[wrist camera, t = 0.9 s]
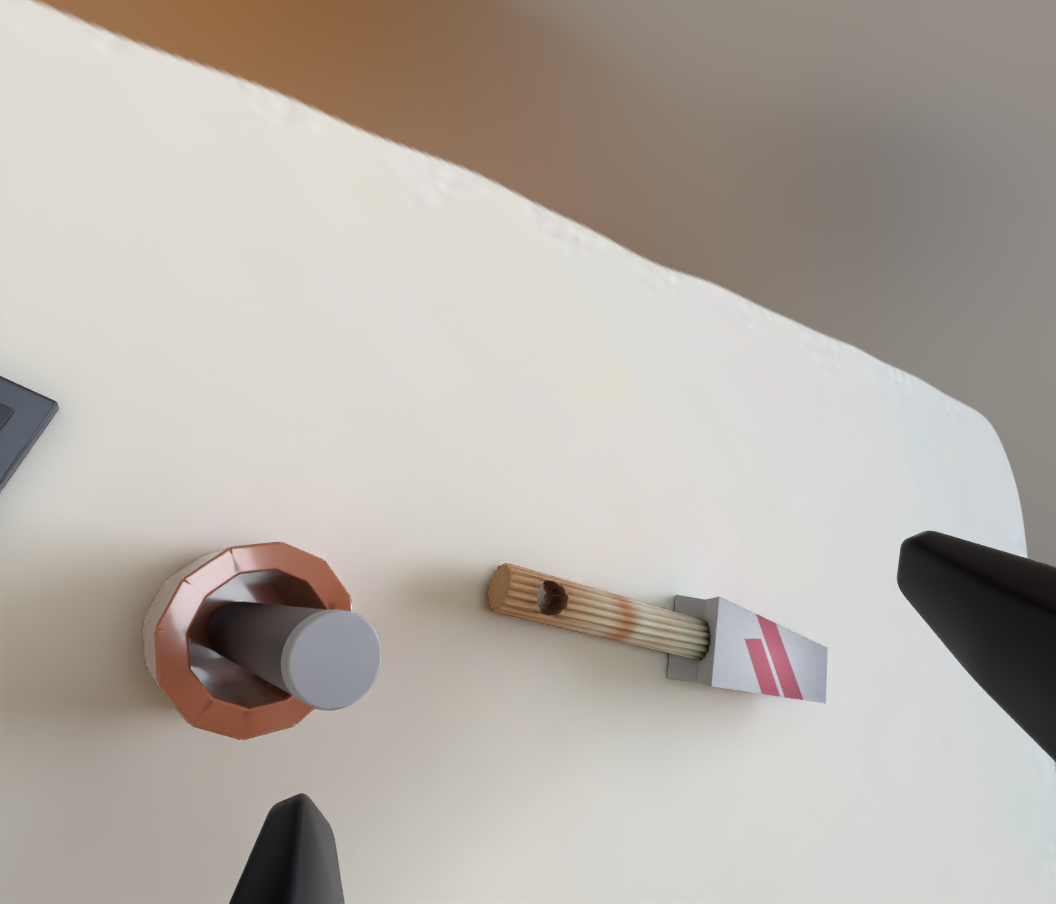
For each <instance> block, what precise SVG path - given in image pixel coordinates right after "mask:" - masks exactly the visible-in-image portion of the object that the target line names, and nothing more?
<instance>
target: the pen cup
mask: <svg viewBox="0 0 1056 904" xmlns="http://www.w3.org/2000/svg"><path fill="white" fill-rule="evenodd" d="M239 601H244V602H254V603H264V604H274V605H284V606H293V607H303V608H313V609H323V610H345V611H350V612H352V602H351V598H350V595H349V593H348V592H347V590H346V589H345V588H344V586H343V585H342V583H341V582H340V581H339V579H338V578H337V576H336V575H335V574H334V572H333V571H332V569H331V568H330V567H329V565H328V564H327V562H326V561H324V560H323V559H321V558H319V557H316V556H314V555H312V554H309V553H307V552H305V551H302V550H300V549H298V548H295V547H293V546H291V545H288V544H286V543H284V542H281V543H280V542H271V543H261V544H252V545H243V546H233V547H229V548H226V549H223V550H219V551H216V552H213V553H209V554H206V555H203V556H202V557H200V558H199V559H197V560H195V561H194V562H192V563H190V564H189V565H187V566H185V567H184V568H182V569H181V570H179V571H178V572H177V573H175V574H174V575H172V576H171V577H169V578H168V579H167V581H165V582H164V584H163V586H162V588H161V589H160V590H159V592H158V593H157V595H156V596H155V598H154V599H153V601H152V603H151V606H150V608H149V610H148V613H147V615H146V616H145V618H144V623H143V646H144V653H145V663H146V666H147V669H148V670H149V672H150V673H151V675H152V677H153V678H154V680H155V682H156V683H157V685H158V687H159V688H160V689H161V691H162V692H163V693H164V694H165V696H166V697H167V698H168V699H169V700H170V702H171V703H172V704H173V705H174V707H175V708H176V709H177V710H178V712H179V713H180V714H181V715H182V717H183V718H184V719H185V720H186V722H187V723H188V724H191V726H193V727H196V728H199V729H203V730H206V731H210V732H213V733H217V734H220V735H224V736H228V737H231V738H235V739H238V740H241V739H242V740H246V739H250V738H253V737H257V736H261V735H265V734H268V733H272V732H276V731H280V730H283V729H287V728H291V727H294V726H295V725H296V724H298V723H299V722H300V721H301V720H303V719H304V718H305V717H306V716H307V715H308V714H309V713H310V712H312V711H313V710H314V709H315V708H313V707H310V706H308V705H306V704H305V703H303V702H301V701H300V700H298V699H297V698H296V697H294V696H293V695H291V694H289V693H288V692H286V691H284V690H282V689H280V688H279V687H277V686H275V685H273V684H271V683H270V682H268V681H266V680H264V679H262V678H261V677H259V676H257V675H255V674H254V673H252V672H250V671H248V670H246V669H245V668H243V667H241V666H239V665H237V664H236V663H234V662H232V661H230V660H228V659H227V658H225V657H223V656H221V655H220V654H218V653H217V652H215V651H214V649H213V648H212V647H211V645H210V643H209V640H208V626H209V623H210V621H211V619H212V617H213V616H214V614H215V613H216V612H217V611H218V610H219V609H221V608H222V607H223V606H225V605H227V604H230V603H233V602H239Z"/></svg>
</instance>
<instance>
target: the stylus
mask: <svg viewBox="0 0 1056 904" xmlns="http://www.w3.org/2000/svg"><path fill="white" fill-rule="evenodd" d="M208 640H209V643H210V645H211V647H212V648H213V649H214V651H215V652H217V653H218V654H220V655H221V656H223V657H225V658H227V659H228V660H230V661H232V662H234V663H236V664H237V665H239V666H241V667H243V668H245V669H246V670H248V671H250V672H252V673H254V674H255V675H257V676H259V677H261V678H262V679H264V680H266V681H268V682H270V683H271V684H273V685H275V686H277V687H279V688H280V689H282V690H284V691H286V692H288V693H289V694H291V695H293V696H294V697H296V698H297V699H298V700H300V701H301V702H303V703H305V704H306V705H308V706H310V707H313V708H315V709H319V710H337V709H341V708H344V707H347V706H349V705H351V704H353V703H355V702H356V701H358V700H359V699H360V698H361V697H363V696H364V695H365V694H366V693H367V691H368V690H369V689H370V688H371V686H372V685H373V683H374V681H375V680H376V677H377V675H378V672H379V669H380V665H381V658H382V649H381V643H380V640H379V637H378V635H377V632H376V631H375V629H374V627H373V626H372V625H371V624H370V623H369V622H368V621H367V620H366V619H365V618H363V617H362V616H360V615H358V614H356V613H353V612H350V611H345V610H323V609H313V608H303V607H293V606H284V605H274V604H264V603H254V602H244V601H239V602H233V603H230V604H227V605H225V606H223V607H222V608H221V609H219V610H218V611H217V612H216V613H215V614H214V616H213V617H212V619H211V621H210V623H209V626H208Z"/></svg>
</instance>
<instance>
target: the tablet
mask: <svg viewBox="0 0 1056 904" xmlns="http://www.w3.org/2000/svg"><path fill="white" fill-rule="evenodd" d="M57 411H58V403H57V402H56V401H54V400H52V399H50V398H48V397H45V396H43V395H41V394H39V393H37V392H34V391H32V390H30V389H28V388H26V387H23V386H21V385H19V384H17V383H15V382H12V381H10V380H8V379H6V378H4V377H1V376H0V492H1V490H2V489H3V487H4V486H5V485H6V483H7V482H8V480H9V479H10V477H11V476H12V475H13V473H14V472H15V470H16V469H17V468H18V466H19V465H20V463H21V462H22V460H23V459H24V458H25V456H26V455H27V453H28V452H29V450H30V449H31V448H32V446H33V445H34V443H35V442H36V440H37V439H38V438H39V436H40V435H41V433H42V432H43V431H44V429H45V428H46V426H47V425H48V423H49V422H50V421H51V419H52V418H53V416H54V415H55V413H56V412H57Z"/></svg>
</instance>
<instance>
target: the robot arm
mask: <svg viewBox="0 0 1056 904" xmlns="http://www.w3.org/2000/svg"><path fill="white" fill-rule="evenodd" d="M897 582H898V585H899V588H900V590H901V592H902V593H903V595H904V596H905V597H906V599H907V600H908V601H909V602H910V603H911V605H912V606H913V607H914V608H915V609H916V611H917V612H918V613H919V614H920V616H921V617H922V618H923V619H924V620H925V622H926V623H927V624H928V625H929V626H930V628H931V629H932V630H933V631H934V632H935V634H936V635H937V636H938V637H939V638H940V640H941V641H942V642H943V643H944V645H945V646H946V647H947V648H948V649H949V651H950V652H951V653H952V654H953V655H954V657H955V658H956V659H957V660H958V661H959V663H960V664H961V665H962V666H963V667H964V669H965V670H966V671H967V672H968V673H969V674H970V675H971V676H972V678H973V679H974V680H975V681H976V682H977V683H978V684H979V685H980V686H981V687H982V688H983V689H984V690H985V691H986V692H987V694H988V695H989V696H990V697H991V698H992V699H993V700H994V701H995V702H996V703H997V704H998V705H999V706H1000V707H1001V708H1002V709H1003V710H1004V711H1005V712H1006V713H1007V714H1008V715H1009V716H1010V717H1011V718H1012V719H1013V720H1014V721H1015V722H1016V723H1017V724H1018V725H1019V726H1020V727H1021V728H1022V729H1023V730H1024V731H1025V732H1026V733H1027V734H1028V735H1029V736H1030V737H1031V738H1032V739H1033V740H1034V741H1035V742H1036V743H1037V744H1038V745H1039V746H1040V747H1041V748H1042V749H1043V750H1044V751H1045V752H1046V753H1047V754H1048V755H1049V756H1050V757H1051V758H1052V759H1053V760H1054V761H1055V762H1056V567H1054V566H1051V565H1048V564H1044V563H1041V562H1037V561H1034V560H1031V559H1027V558H1024V557H1020V556H1017V555H1014V554H1010V553H1007V552H1004V551H1000V550H997V549H993V548H990V547H987V546H983V545H980V544H976V543H973V542H970V541H966V540H963V539H960V538H956V537H953V536H949V535H946V534H943V533H939V532H935V531H925V532H921V533H919V534H917V535H914V536H912V537H910V538H907V539H905V540H904V541H903V543H902V544H901V548H900V556H899V564H898V572H897ZM229 904H345V903H344V897H343V890H342V884H341V877H340V870H339V864H338V857H337V851H336V844H335V839H334V835H333V832H332V829H331V827H330V824H329V823H328V821H327V820H326V819H325V817H324V816H323V815H322V813H321V812H320V811H319V809H318V808H317V807H316V805H315V804H314V803H313V801H312V800H311V799H310V798H309V797H308V796H307V795H306V794H303V793H301V794H298V795H295V796H293V797H291V798H288V799H286V800H283V801H281V802H279V803H277V804H275V805H274V806H273V807H272V808H271V810H270V811H269V813H268V815H267V817H266V820H265V822H264V824H263V827H262V829H261V831H260V833H259V836H258V838H257V840H256V843H255V845H254V847H253V850H252V852H251V854H250V856H249V859H248V861H247V863H246V866H245V868H244V870H243V873H242V875H241V877H240V879H239V882H238V884H237V886H236V889H235V891H234V893H233V896H232V898H231V900H230V902H229Z"/></svg>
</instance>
